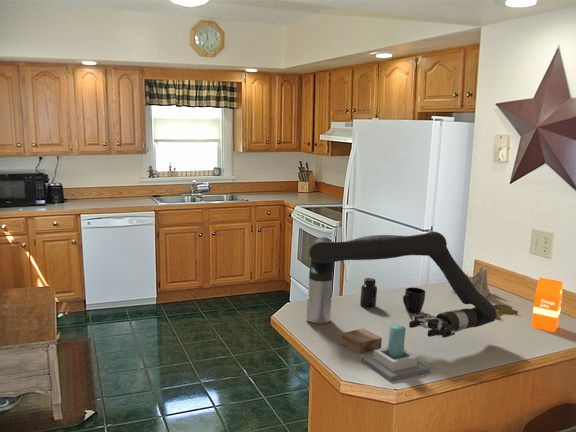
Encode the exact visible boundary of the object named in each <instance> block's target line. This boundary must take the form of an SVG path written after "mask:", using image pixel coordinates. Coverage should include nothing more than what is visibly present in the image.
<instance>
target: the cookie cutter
mask: <svg viewBox="0 0 576 432" xmlns="http://www.w3.org/2000/svg"><path fill="white" fill-rule="evenodd" d="M493 306H494V307H495V309H496V312H497V318H496V319H495V321H496V320H500V319H501V315H500V314H501V313H502V314H505V315H506V313H507V315H508V314H509V315H513V314H515V316H517V315H518V313H519V311H518V310H516V309H513V306H510V305H507V304H500V303H499V304H495V303H494V304H493Z"/></svg>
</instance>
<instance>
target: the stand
mask: <svg viewBox="0 0 576 432" xmlns="http://www.w3.org/2000/svg"><path fill="white" fill-rule="evenodd" d="M382 339H383V338H382V337H381V336H379V335H377V334H375V333H373V332H371V331H370V330H367V329H365V328H359V329H355V330H350V331H345V332H341V340H340V343H341V345H343V346H345V347H347V348H348V349H350V350H352V351H353V352H355V353H357V354H358V355H361V354H366V353H368V352H369V353H370V352H374V350H377V349H382Z"/></svg>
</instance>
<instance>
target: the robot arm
mask: <svg viewBox="0 0 576 432" xmlns="http://www.w3.org/2000/svg"><path fill="white" fill-rule="evenodd" d="M447 245H448V243H447V239H446V237H445V236H444V235H443V234H442V233H440V232H437V231H434V230H433V231H428V232H426V233H420V234H414V235H396V234H377V235H376V234H375V235H367V236H366V235H365V236H361V237H357V238H353V239H350V240H346V241H332V239H330V238H328V237H326V236H321V237H318V238H316V239H315V240H314V241H313V242H312V244H311V245H310V247H309V250H308V251H309V252H308V253H309V258H310V268H309V272H308V275H309V277H308V292H307V293H308V295H307V303H306V322H310V323H313V324H322V325H323V324H328V323H329V322H330V321H331V311H332V310H331V308H332V307H331V306H332V296H333V295H332V293H333V277H334V276H333V275H334V269H335V267H334V266H335V263H336V262H340V261H341V262H343V261H371V260H376V261H377V260H387V259H388V260H389V259H394V258H400V257H406V256H425V257H429V258H431V259H432V261H433V262H434V263H435V265H436V266H437V267H438V268H439V269H440V270H441V272H442V274H443V275H444V277H445V278H446V280H447V282H448V284H449V285H450V287H451V289H452V290H454V291H455V293H454V294H456V296H457V297H458V298H459V301H460V302H462V304H464V305H472V306H474V307H472V308H462V309H454V310H453V309H452V310H448V311H445V312H440V313H438V314H437V315H436V316H435V317H429V316H428V314H422V315H417V316H414V317H413V320H411V321H409V325H408V327H409V328H411V329H414V328H417V327H420V328H421V327H422V328H424V329H428V330H427V336H428V337H429V338H430V337H435V336H437V337H440V336H441V337H442V339H443V338H449V337H451V336H455V334H456V333H457V332H458V333H459V332H461V331H464V330H467V329H471V328H477V327H482V326H484V325H487V324H491V323H493V322H494V321H496V318H497V312H496V311H497V308H495V307H494V304H492V302H490V301H489V300H488V299H487V297H484V296H482V295H481V294H480V293H479V292H478V291H477V290H476V288H475V287H474V285H473V284H472V283H471V281H470V280H469V278H468V277H467V276H466V274H467V273H465V272H464V271H463V269H462V268H461V267H460V265H458V263H457V262H456V261H455V259H454V258H453V256H452V254H451V252H450V251H449V249H448V247H447ZM426 324H427V325H426Z"/></svg>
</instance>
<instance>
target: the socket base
mask: <svg viewBox="0 0 576 432" xmlns="http://www.w3.org/2000/svg"><path fill="white" fill-rule="evenodd" d="M418 358H419V357H418V356H416V355H415V354H413V353H411V352H409V351H408V350H406V349H405V348H404V353H403V358H399V359H395V360H394V359H392V358H390V357H389V356H388V346H387V347H383V348H382V347H381V349H377V350H373V353H371V354H366V355H362V356H360V361H359V362H362V363H363V364H365V365H366V366H368V367H369V368H371V369H372V370H373V371H374V372H376V373H378V374H379V375H381V376H382V377H383V378H385V379H386V380H387V381H389V382H394V381H398V380H403V379H407V378H411V377H415V376H419V375H424V374H428V373H431V368H430V367H429V366H428V365H426V364H424V363H423V362H421V361H419V360H418Z"/></svg>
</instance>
